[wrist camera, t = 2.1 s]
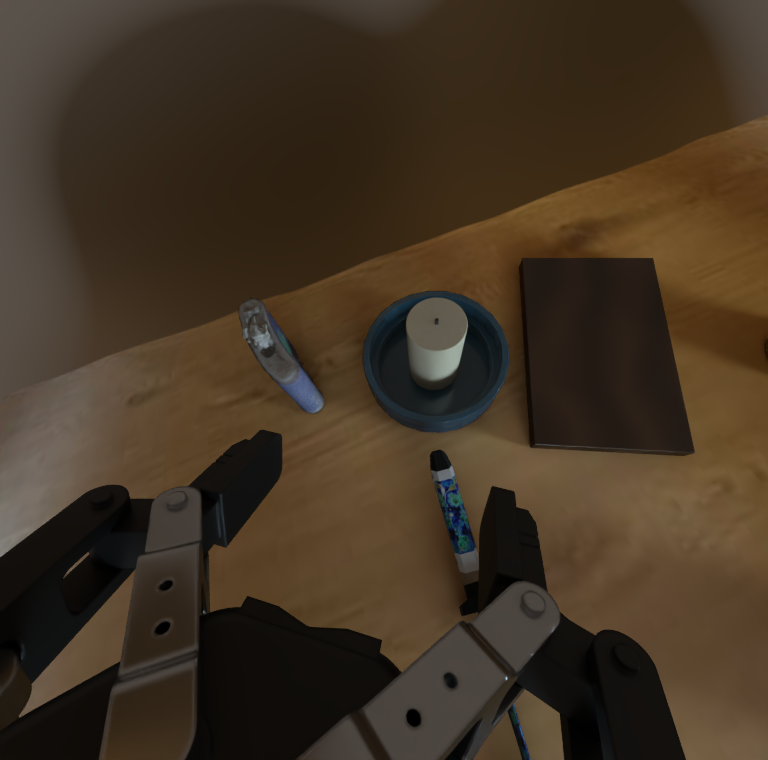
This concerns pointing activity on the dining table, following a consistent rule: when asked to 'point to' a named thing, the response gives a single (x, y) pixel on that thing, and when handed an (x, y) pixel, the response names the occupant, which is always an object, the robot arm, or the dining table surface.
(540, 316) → the cutting board
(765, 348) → the beer glass
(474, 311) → the bowl
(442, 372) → the candle
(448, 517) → the knife
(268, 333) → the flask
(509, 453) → the dining table surface
